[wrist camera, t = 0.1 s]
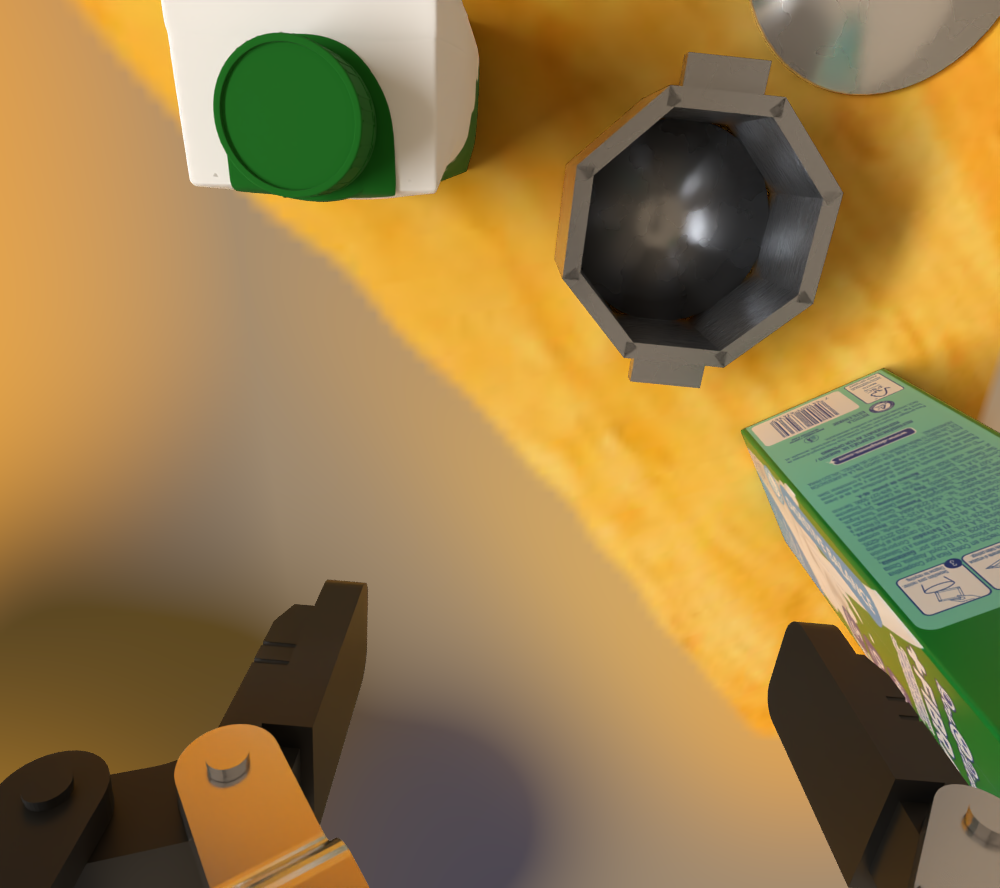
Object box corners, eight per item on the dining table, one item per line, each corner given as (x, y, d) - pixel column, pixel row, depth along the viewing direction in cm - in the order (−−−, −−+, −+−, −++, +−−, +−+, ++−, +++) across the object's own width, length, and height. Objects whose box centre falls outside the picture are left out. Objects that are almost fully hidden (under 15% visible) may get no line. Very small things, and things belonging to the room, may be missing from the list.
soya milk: (324, 185, 37) (137, 208, 19) (311, -10, 34) (66, -214, 15) (483, 190, 37) (453, 218, 19) (487, -5, 34) (453, -204, 15)
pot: (578, 61, 35) (593, 38, 28) (810, 85, 35) (877, 68, 28) (543, 343, 40) (549, 377, 34) (743, 363, 41) (786, 401, 34)
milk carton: (921, 487, 44) (1379, 855, 21) (785, 542, 45) (1064, 937, 22) (884, 366, 41) (1370, 636, 18) (739, 429, 42) (1008, 751, 19)
